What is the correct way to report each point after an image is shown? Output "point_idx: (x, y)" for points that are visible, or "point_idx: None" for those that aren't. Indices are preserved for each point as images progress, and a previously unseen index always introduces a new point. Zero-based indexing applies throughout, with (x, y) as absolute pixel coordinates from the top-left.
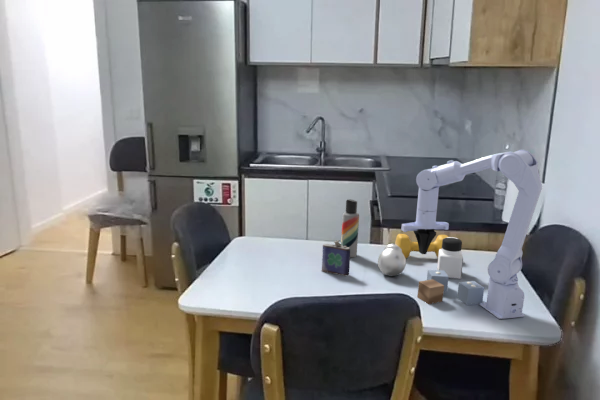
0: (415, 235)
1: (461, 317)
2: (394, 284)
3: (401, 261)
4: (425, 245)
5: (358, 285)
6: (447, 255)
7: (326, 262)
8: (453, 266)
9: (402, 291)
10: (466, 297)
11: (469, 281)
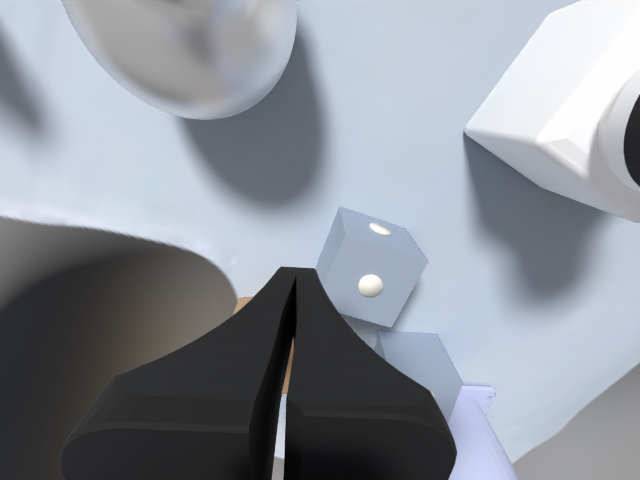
0: (180, 354)
1: None
2: (195, 163)
3: (219, 110)
4: (281, 388)
5: (9, 129)
6: (588, 159)
7: None
8: (555, 181)
9: (203, 239)
10: None
11: (438, 383)
